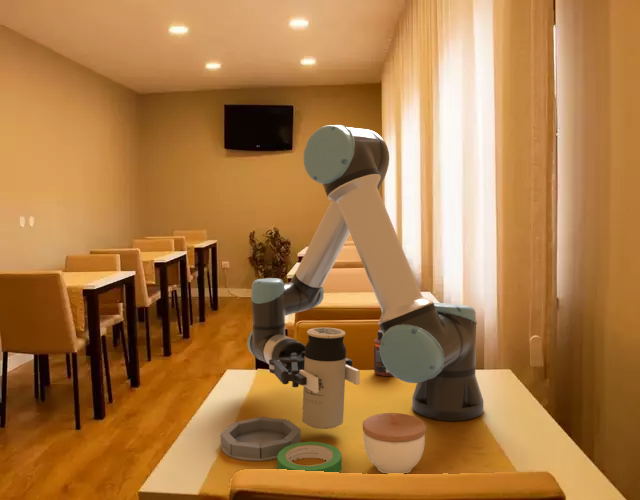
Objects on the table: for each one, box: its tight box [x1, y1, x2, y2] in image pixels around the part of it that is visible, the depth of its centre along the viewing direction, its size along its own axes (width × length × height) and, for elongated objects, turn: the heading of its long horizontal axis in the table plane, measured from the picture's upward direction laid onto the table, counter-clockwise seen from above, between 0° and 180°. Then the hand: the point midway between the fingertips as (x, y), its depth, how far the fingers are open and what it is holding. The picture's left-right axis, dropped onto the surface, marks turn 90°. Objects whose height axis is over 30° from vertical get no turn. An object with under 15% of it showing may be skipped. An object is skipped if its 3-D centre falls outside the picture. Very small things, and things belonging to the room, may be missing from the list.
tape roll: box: [276, 441, 343, 473], centre depth 106 cm, size 11×11×3 cm
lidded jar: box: [362, 412, 427, 474], centre depth 105 cm, size 11×11×9 cm
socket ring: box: [220, 416, 302, 462], centre depth 116 cm, size 15×15×2 cm
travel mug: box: [301, 327, 347, 430], centre depth 119 cm, size 8×8×18 cm
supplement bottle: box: [373, 329, 393, 377], centre depth 159 cm, size 6×6×11 cm
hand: (337, 381), depth 114 cm, fingers closed on travel mug, 8 cm apart
